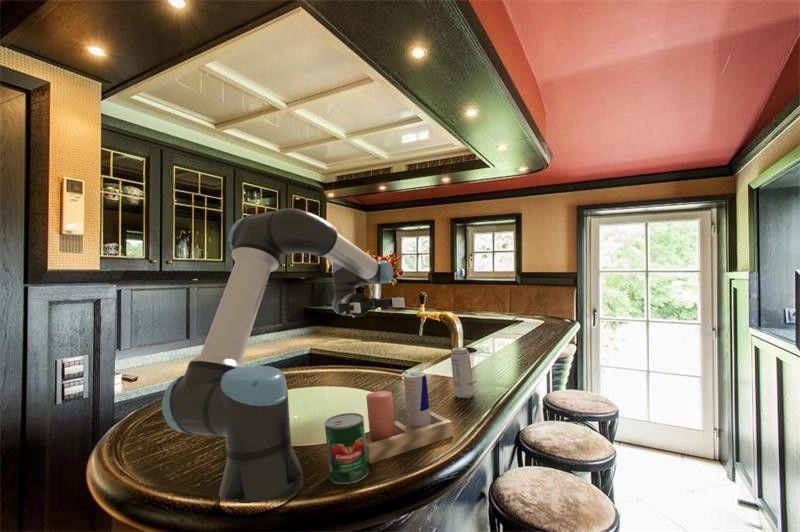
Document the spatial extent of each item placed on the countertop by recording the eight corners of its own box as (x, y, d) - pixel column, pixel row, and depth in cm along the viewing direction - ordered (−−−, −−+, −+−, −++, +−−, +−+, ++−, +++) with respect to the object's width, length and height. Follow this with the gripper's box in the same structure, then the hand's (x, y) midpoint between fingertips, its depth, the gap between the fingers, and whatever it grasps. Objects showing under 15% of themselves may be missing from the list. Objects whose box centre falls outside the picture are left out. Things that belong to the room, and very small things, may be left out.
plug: (377, 455, 83) (372, 400, 83) (367, 446, 88) (362, 395, 89) (401, 447, 86) (396, 394, 86) (390, 439, 91) (385, 389, 91)
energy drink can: (475, 398, 115) (470, 349, 116) (456, 400, 115) (451, 351, 116) (472, 392, 121) (467, 346, 122) (453, 394, 122) (449, 348, 122)
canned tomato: (353, 461, 81) (349, 410, 82) (376, 472, 75) (371, 417, 76) (321, 476, 76) (317, 421, 76) (343, 489, 70) (338, 430, 71)
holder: (370, 463, 79) (368, 446, 79) (354, 448, 88) (353, 433, 88) (453, 436, 89) (451, 421, 89) (432, 424, 98) (430, 411, 98)
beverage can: (430, 440, 88) (424, 376, 89) (407, 440, 89) (401, 377, 90) (433, 430, 94) (427, 370, 94) (411, 431, 95) (405, 371, 95)
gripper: (390, 311, 129) (421, 313, 110) (319, 321, 118) (340, 324, 99) (388, 289, 129) (418, 287, 111) (317, 297, 118) (337, 296, 99)
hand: (381, 305), depth 105 cm, fingers open, 13 cm apart
